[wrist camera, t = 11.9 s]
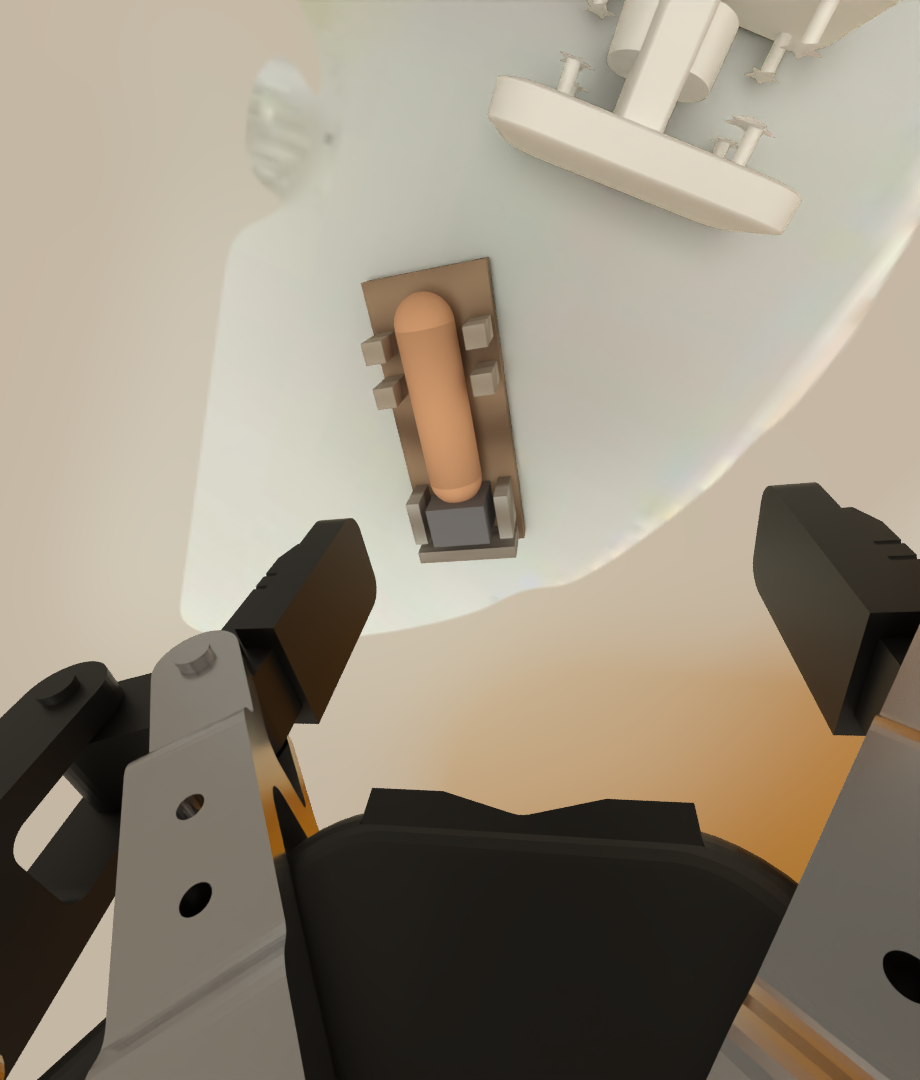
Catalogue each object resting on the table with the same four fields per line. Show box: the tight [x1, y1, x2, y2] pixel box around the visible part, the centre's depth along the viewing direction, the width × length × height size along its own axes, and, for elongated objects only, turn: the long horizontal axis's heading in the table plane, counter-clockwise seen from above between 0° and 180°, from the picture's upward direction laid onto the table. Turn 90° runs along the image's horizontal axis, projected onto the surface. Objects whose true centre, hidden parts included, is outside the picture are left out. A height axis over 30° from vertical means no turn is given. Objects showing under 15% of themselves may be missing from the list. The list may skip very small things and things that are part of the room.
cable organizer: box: [487, 0, 901, 235], centre depth 24 cm, size 15×11×12 cm
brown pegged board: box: [361, 257, 525, 563], centre depth 38 cm, size 21×9×5 cm, turn 10°
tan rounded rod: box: [394, 291, 496, 548], centre depth 37 cm, size 18×4×4 cm, turn 10°
